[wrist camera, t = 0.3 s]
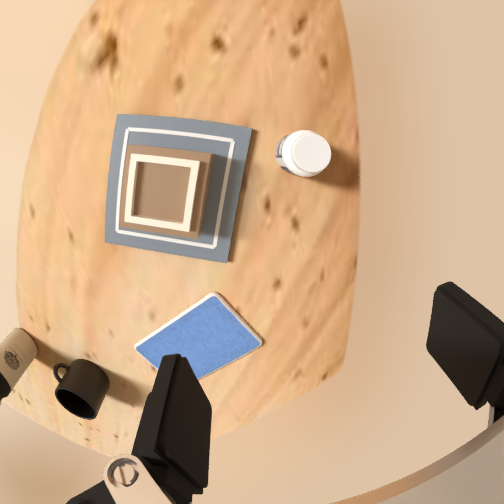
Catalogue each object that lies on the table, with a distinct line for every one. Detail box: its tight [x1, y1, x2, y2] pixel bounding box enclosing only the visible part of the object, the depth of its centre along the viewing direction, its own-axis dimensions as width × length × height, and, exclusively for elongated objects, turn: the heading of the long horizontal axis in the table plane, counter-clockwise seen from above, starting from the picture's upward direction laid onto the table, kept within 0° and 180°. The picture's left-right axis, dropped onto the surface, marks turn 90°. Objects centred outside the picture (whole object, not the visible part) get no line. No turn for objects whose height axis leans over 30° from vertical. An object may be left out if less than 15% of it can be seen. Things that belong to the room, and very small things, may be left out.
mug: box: [53, 359, 109, 420], centre depth 41 cm, size 9×12×9 cm
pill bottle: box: [275, 130, 331, 177], centre depth 29 cm, size 5×5×9 cm
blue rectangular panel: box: [135, 292, 262, 380], centre depth 43 cm, size 19×13×1 cm, turn 127°
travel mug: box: [0, 328, 38, 405], centre depth 34 cm, size 8×8×18 cm
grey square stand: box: [105, 114, 252, 263], centre depth 31 cm, size 18×18×6 cm
